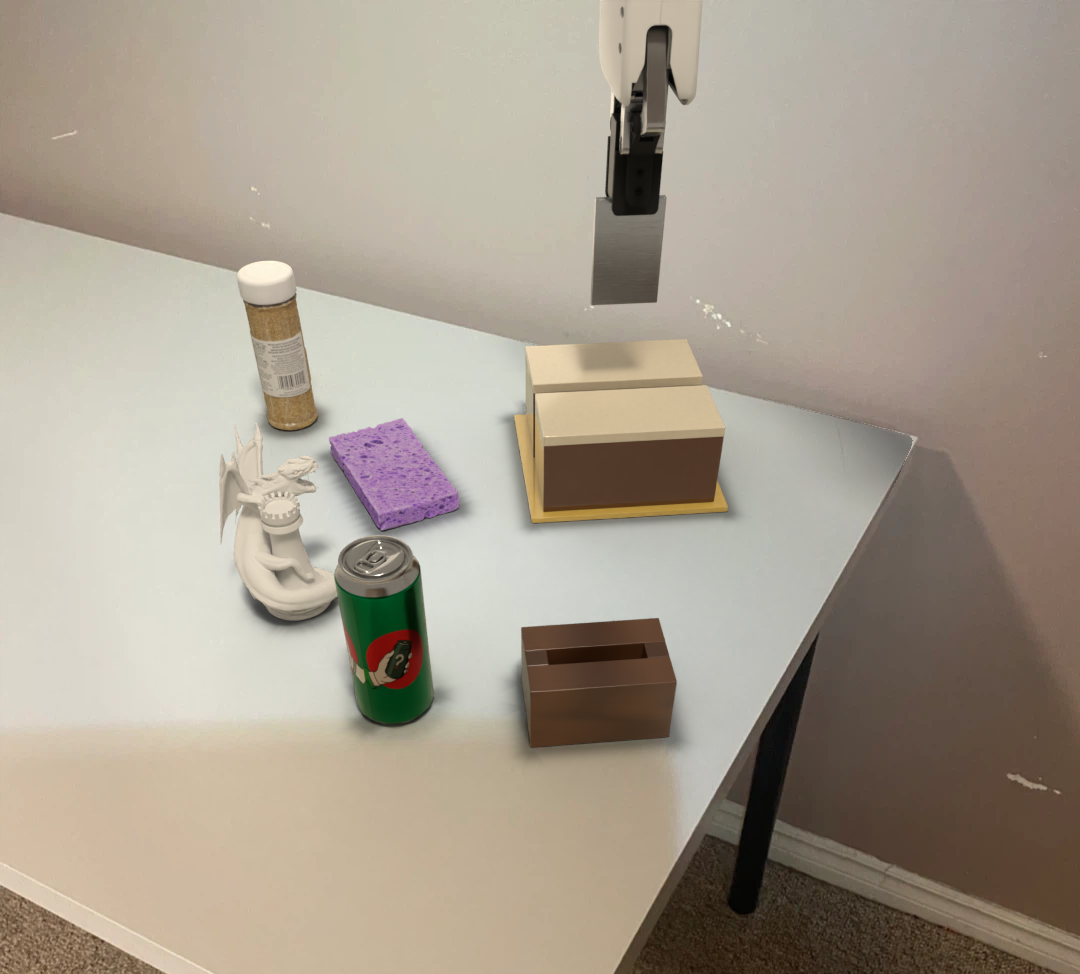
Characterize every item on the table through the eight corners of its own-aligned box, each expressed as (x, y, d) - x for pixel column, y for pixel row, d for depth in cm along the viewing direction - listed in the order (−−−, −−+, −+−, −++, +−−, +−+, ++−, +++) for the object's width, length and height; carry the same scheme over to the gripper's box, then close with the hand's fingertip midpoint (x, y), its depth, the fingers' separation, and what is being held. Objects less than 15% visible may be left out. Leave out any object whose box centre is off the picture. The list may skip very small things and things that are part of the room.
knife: (653, 295, 77) (670, 111, 68) (658, 307, 76) (676, 120, 67) (588, 298, 77) (596, 113, 68) (592, 310, 75) (601, 123, 66)
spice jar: (316, 404, 94) (291, 256, 84) (320, 429, 91) (294, 279, 81) (266, 409, 93) (234, 260, 84) (268, 435, 90) (236, 284, 81)
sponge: (405, 436, 90) (403, 417, 89) (461, 510, 83) (460, 491, 81) (329, 454, 88) (326, 435, 87) (380, 533, 80) (377, 513, 79)
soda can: (448, 692, 68) (436, 547, 60) (404, 740, 65) (384, 595, 57) (387, 665, 70) (366, 521, 61) (342, 711, 67) (313, 566, 58)
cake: (687, 410, 94) (696, 334, 88) (727, 511, 83) (740, 431, 77) (514, 419, 92) (512, 342, 87) (531, 523, 81) (531, 442, 76)
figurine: (355, 617, 73) (331, 473, 65) (249, 644, 71) (209, 499, 63) (320, 534, 80) (294, 394, 72) (222, 556, 78) (182, 415, 70)
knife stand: (652, 672, 70) (658, 617, 66) (669, 737, 66) (677, 681, 62) (521, 682, 69) (521, 626, 65) (530, 747, 65) (530, 692, 61)
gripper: (753, -112, 53) (708, 250, 66) (689, -154, 64) (661, 164, 77) (610, -110, 52) (594, 254, 66) (570, -153, 63) (563, 168, 76)
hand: (631, 203), depth 71 cm, fingers closed on knife, 2 cm apart
